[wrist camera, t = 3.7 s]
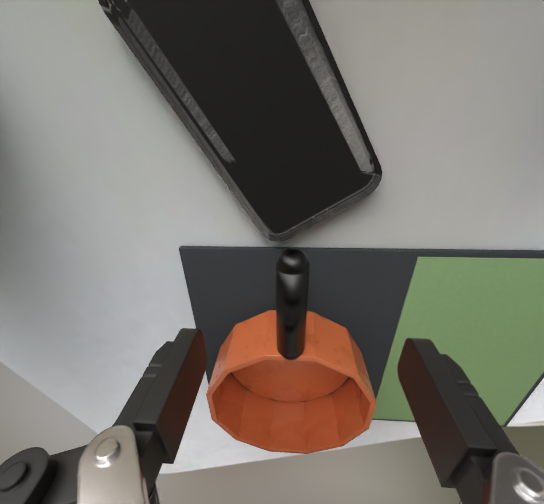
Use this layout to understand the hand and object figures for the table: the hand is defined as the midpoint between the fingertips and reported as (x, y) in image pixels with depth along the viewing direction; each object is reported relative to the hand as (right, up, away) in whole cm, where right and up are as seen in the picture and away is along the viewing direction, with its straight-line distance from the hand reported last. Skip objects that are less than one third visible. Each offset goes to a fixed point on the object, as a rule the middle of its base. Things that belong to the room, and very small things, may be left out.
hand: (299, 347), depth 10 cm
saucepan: (0, -3, +11) cm, 11 cm away
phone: (-2, +12, +4) cm, 13 cm away
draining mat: (+7, -5, +12) cm, 15 cm away
